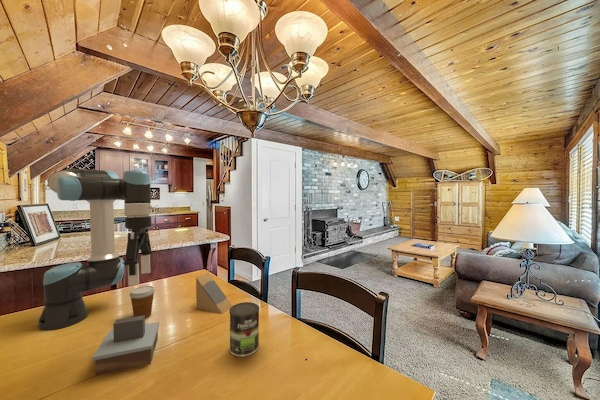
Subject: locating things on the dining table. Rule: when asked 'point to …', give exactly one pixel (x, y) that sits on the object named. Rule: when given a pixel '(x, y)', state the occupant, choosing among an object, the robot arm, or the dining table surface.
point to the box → (125, 360)
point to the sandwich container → (210, 295)
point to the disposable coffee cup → (142, 300)
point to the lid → (127, 337)
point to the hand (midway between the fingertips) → (140, 278)
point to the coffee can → (244, 329)
